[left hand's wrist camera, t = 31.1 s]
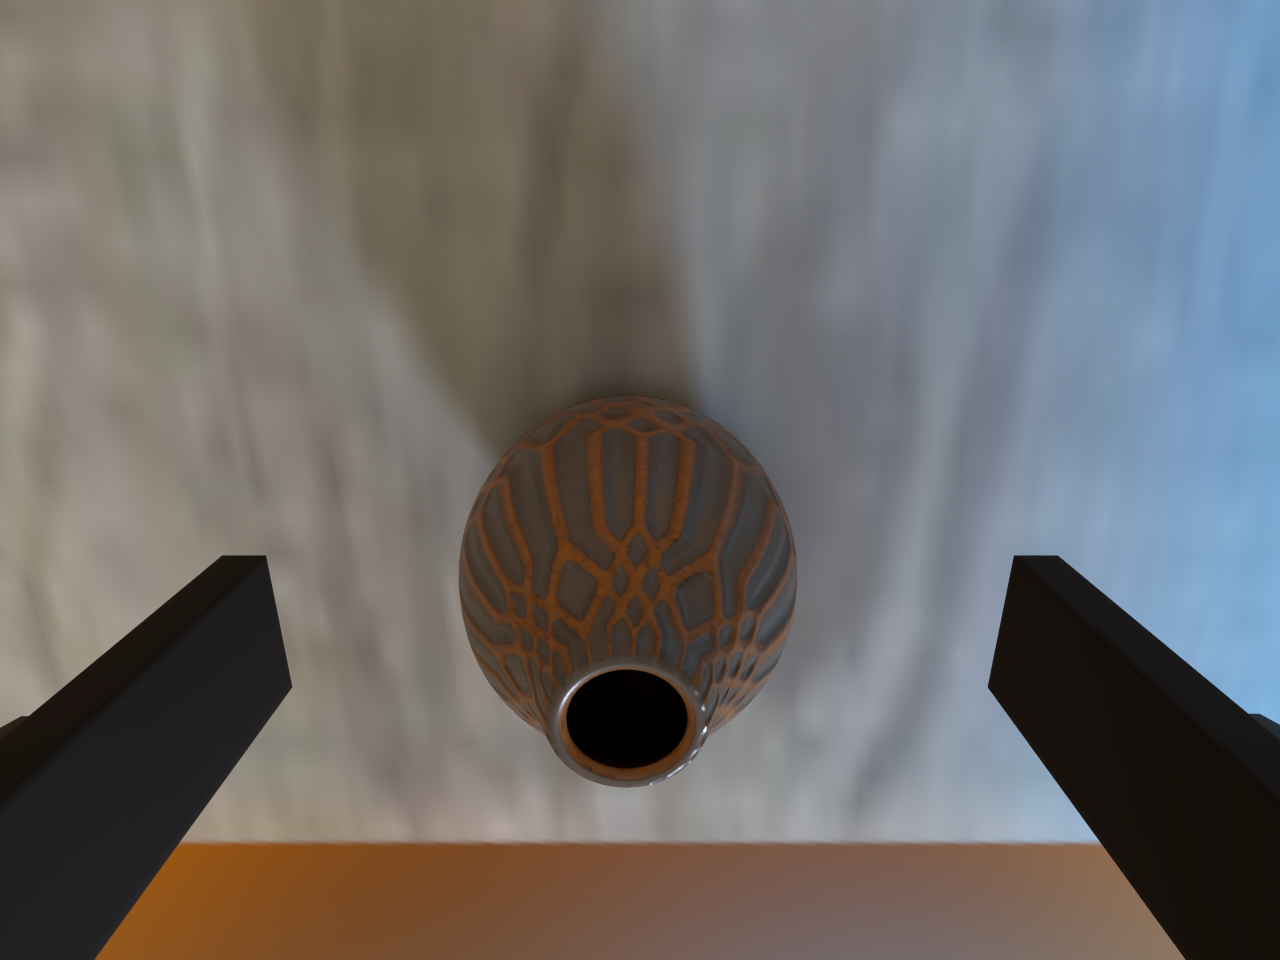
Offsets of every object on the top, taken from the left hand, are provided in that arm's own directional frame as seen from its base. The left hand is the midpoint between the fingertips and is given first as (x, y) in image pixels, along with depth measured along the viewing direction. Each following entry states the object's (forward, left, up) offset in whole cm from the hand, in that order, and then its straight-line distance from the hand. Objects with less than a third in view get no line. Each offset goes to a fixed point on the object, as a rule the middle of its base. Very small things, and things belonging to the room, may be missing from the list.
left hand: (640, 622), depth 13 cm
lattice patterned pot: (0, 0, -6) cm, 6 cm away
